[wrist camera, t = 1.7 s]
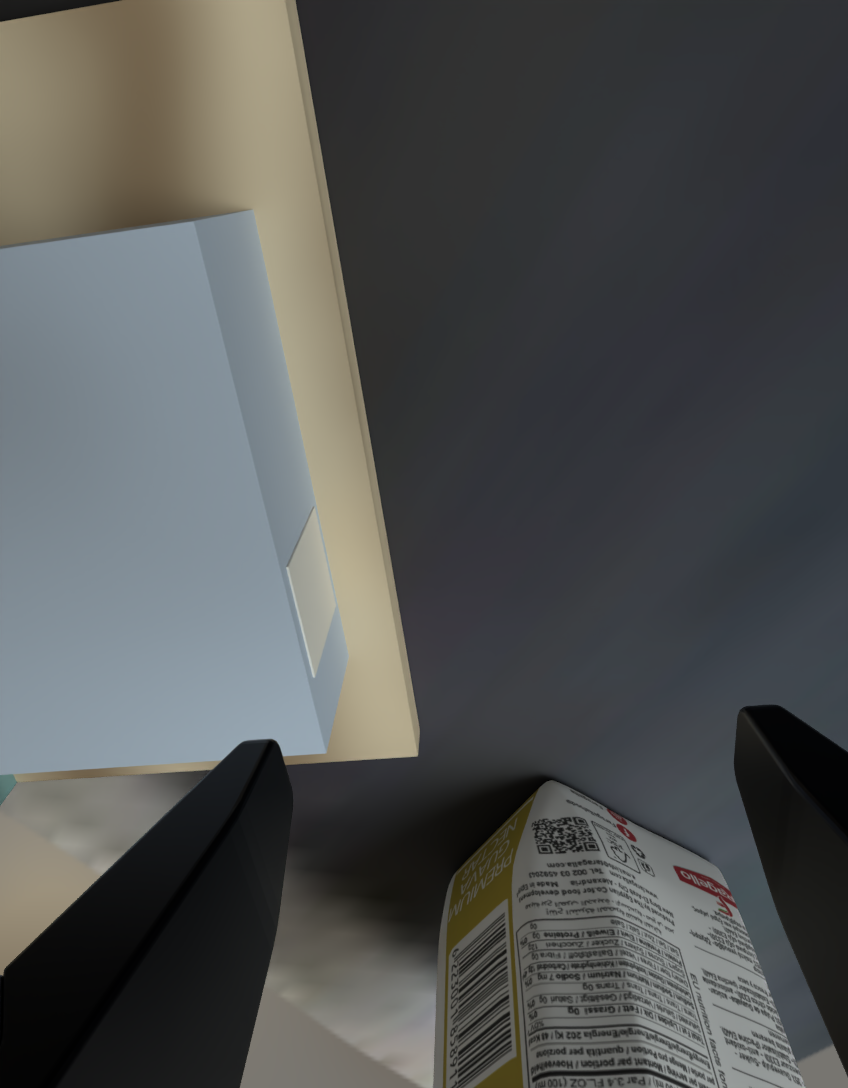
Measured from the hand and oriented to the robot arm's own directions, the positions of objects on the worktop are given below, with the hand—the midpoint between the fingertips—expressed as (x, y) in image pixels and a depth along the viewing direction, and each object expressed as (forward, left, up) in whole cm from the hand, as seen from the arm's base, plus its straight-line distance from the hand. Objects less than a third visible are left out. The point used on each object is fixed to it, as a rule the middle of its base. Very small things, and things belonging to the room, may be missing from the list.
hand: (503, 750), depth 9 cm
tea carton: (+9, 0, -11) cm, 14 cm away
